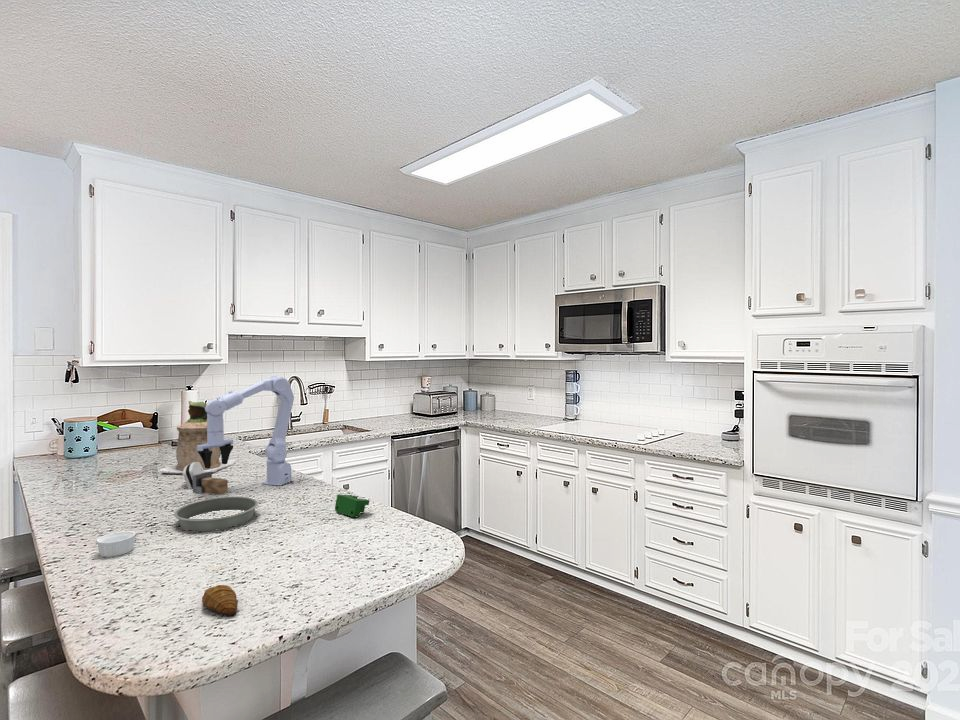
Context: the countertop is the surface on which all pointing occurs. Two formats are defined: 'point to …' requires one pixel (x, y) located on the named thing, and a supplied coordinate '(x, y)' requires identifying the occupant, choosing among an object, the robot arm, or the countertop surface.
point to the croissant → (220, 600)
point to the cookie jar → (195, 442)
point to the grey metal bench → (200, 481)
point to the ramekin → (116, 543)
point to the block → (215, 485)
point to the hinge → (192, 472)
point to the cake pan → (216, 505)
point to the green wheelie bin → (350, 505)
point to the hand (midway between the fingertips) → (216, 466)
